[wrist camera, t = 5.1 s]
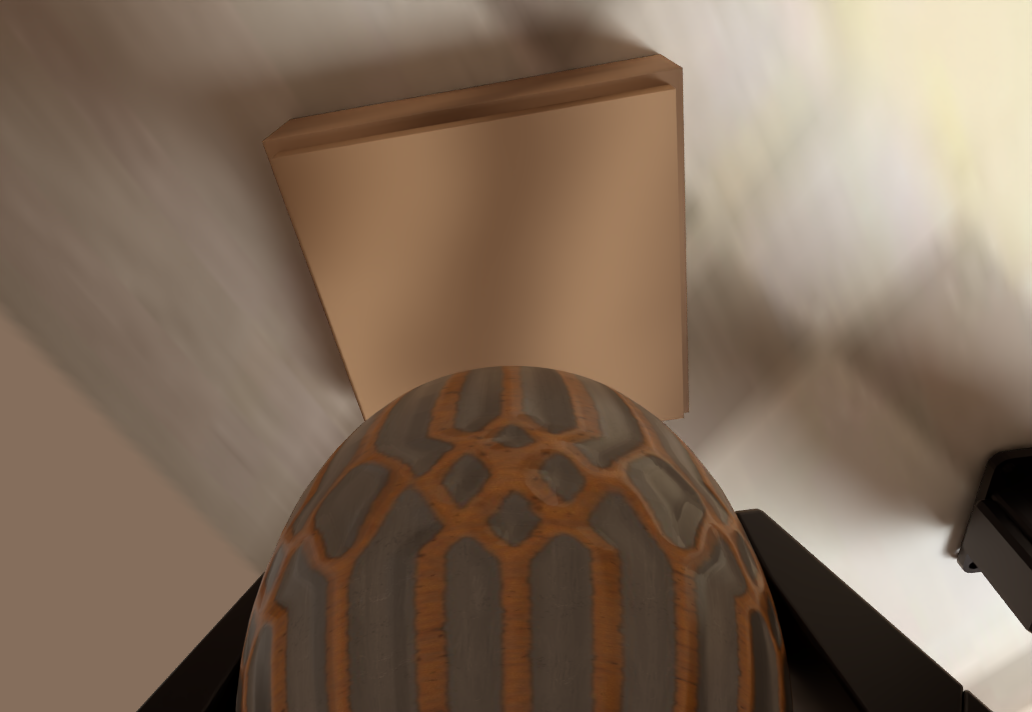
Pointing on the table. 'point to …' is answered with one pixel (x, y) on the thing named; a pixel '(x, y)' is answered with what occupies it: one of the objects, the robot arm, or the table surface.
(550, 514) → the vase
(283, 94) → the table surface
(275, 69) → the table surface
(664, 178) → the plinth
